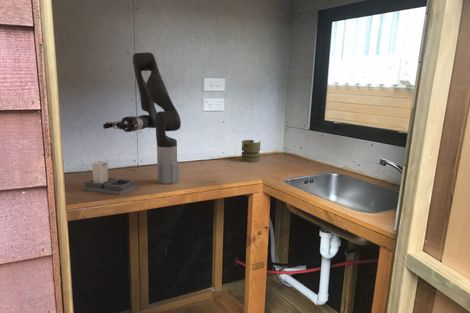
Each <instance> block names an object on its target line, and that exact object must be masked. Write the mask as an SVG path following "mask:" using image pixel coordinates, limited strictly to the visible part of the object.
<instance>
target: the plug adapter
mask: <svg viewBox="0 0 470 313" xmlns="http://www.w3.org/2000/svg"><path fill="white" fill-rule="evenodd" d="M91 165H92V166H91V168H92V179H93V183H103V182H106V181H108V177H109V169H108V162H107V161H101V160H99V161H96V162H92V163H91Z"/></svg>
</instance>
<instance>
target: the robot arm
mask: <svg viewBox="0 0 470 313" xmlns="http://www.w3.org/2000/svg"><path fill="white" fill-rule="evenodd" d="M156 60H157V59H156V57H155V56H154V54H153V52H147V51H145V52H135V53H133V55H132V65H133V69H134V74H135V79H136V80H135V81H136V83H137V87H138V92H139V98H140V100H139V101H140V107H141V110H142V111H143V112H147V113H148V114H142V115H137V116H136V115H133V116H132V115H131V116H124V117H123V118H121V120H118V121H109V122H105V123H103V125H102V126H103V129H104V130H105V129H113V130H117V129H118V130H122V131H124V132H126V133H132V132H136V131H139V130H144V129H147V128H148V129H155V136H156V137H155V139H156V161H157V162H156V167H157V168H156V169H157V170H156V172H157V183H158V184H164V185H165V184H167V185H168V184H173V185H174V184H175V183H177V182H178V181H180V163H179V161H178V142H177V139H176V138H173V137H169V136H168V135H167V134H166V132H176V131H178V130H180V129H181V127H182V126H181V125H182V124H181V123H182V122H181V120H182V119H181V117H180V114H179V113H178V110H177V108H176V107H175V105H174V103H173V102H172V99H171V97H170V95H169V93H168V89H167V87H166V84H165V83H164V80H163V78H162V76H161V73H160V71H159V67H158V64H157V61H156ZM146 71H150V75H149V76H148V78H147V80H146V81H145V79H144V78H143V73H142V72H146ZM155 105H156V106H158V107H159V108H161V109H162V110H163V111H157V110H156V109H157V108H156V106H155Z"/></svg>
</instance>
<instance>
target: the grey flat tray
mask: <svg viewBox="0 0 470 313" xmlns="http://www.w3.org/2000/svg"><path fill="white" fill-rule="evenodd" d="M136 182H137V181H136V180H133V179H132V180H131V179H124V178H118V179H117V178H116V177H110V176H108V181H106V182H103V183H93V178H92V179H90V180H88V181H84V186H82V190H83V191H91V192H98V193H103V194H104V193H105V194H113V195H123V194H125V193H127V192H129V191H131V190H134V189H136V188H137V186H138V185H137V183H136Z"/></svg>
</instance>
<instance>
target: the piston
mask: <svg viewBox="0 0 470 313" xmlns="http://www.w3.org/2000/svg"><path fill="white" fill-rule="evenodd" d="M254 140H255V139H245V140H242V141H241V162H243V163H249V164H250V163H254V164H255V163H259V162H261V140H260V141H258V142H254Z"/></svg>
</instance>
